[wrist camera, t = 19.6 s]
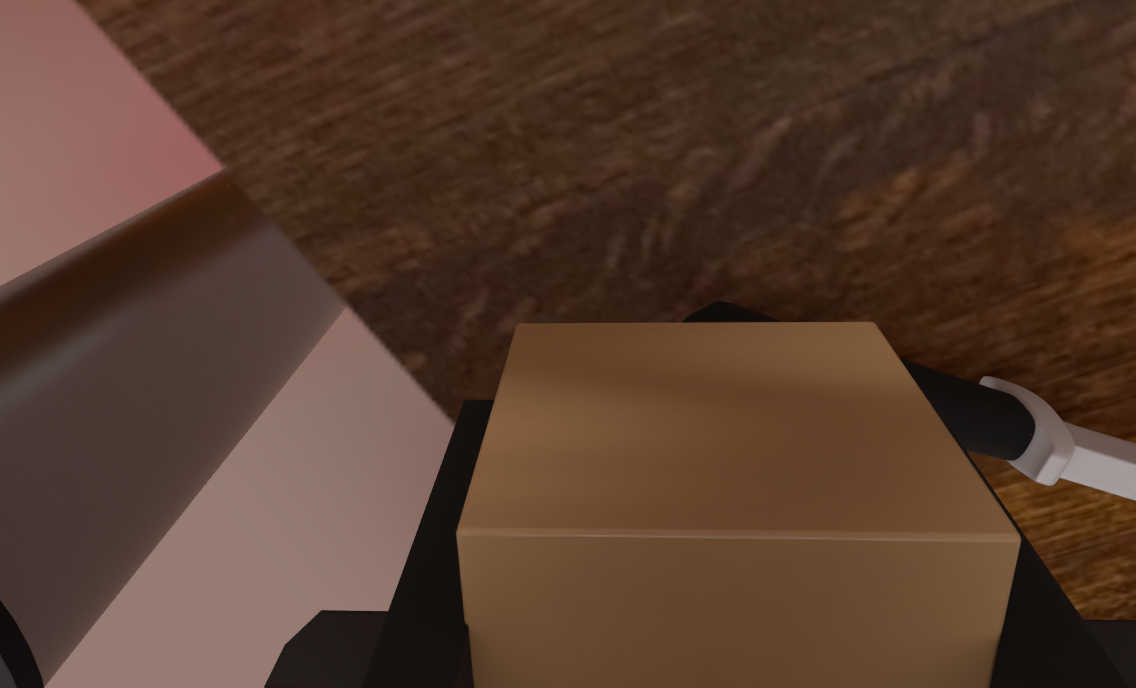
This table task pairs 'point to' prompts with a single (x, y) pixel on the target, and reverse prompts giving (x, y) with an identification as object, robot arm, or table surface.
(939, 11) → the table surface
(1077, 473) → the knife
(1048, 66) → the table surface
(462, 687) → the robot arm
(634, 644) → the block
